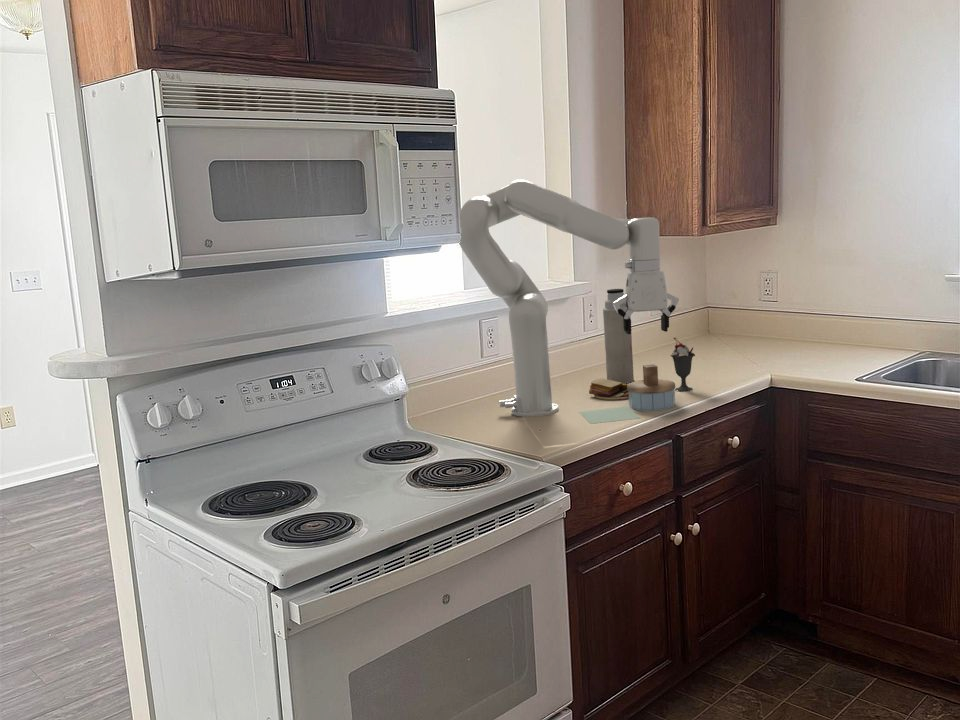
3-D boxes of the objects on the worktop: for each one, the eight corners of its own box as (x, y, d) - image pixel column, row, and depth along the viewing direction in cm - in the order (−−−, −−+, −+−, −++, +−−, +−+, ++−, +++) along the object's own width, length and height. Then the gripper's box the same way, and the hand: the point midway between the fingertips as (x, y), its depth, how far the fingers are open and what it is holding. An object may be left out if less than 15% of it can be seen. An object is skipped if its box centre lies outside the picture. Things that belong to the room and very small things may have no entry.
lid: (635, 395, 225) (633, 372, 224) (621, 386, 238) (620, 364, 236) (682, 390, 227) (681, 367, 226) (666, 381, 239) (665, 359, 238)
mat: (590, 425, 220) (590, 423, 220) (578, 413, 233) (578, 411, 232) (641, 419, 221) (641, 417, 221) (626, 408, 234) (626, 406, 234)
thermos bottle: (634, 378, 269) (629, 286, 264) (633, 383, 262) (628, 289, 257) (607, 379, 271) (602, 288, 266) (606, 384, 263) (601, 291, 258)
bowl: (637, 413, 227) (636, 395, 226) (624, 404, 238) (623, 386, 237) (680, 409, 228) (679, 390, 227) (666, 399, 239) (665, 381, 238)
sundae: (667, 389, 251) (664, 337, 249) (687, 385, 253) (685, 334, 251) (679, 393, 245) (677, 340, 242) (700, 389, 247) (698, 337, 244)
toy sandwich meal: (621, 404, 239) (620, 387, 238) (582, 399, 249) (581, 383, 248) (648, 394, 248) (647, 378, 247) (609, 390, 257) (608, 374, 256)
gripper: (616, 269, 222) (617, 336, 225) (682, 265, 224) (683, 332, 227) (608, 267, 229) (610, 332, 232) (672, 263, 231) (673, 327, 234)
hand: (646, 332), depth 230 cm, fingers open, 9 cm apart
